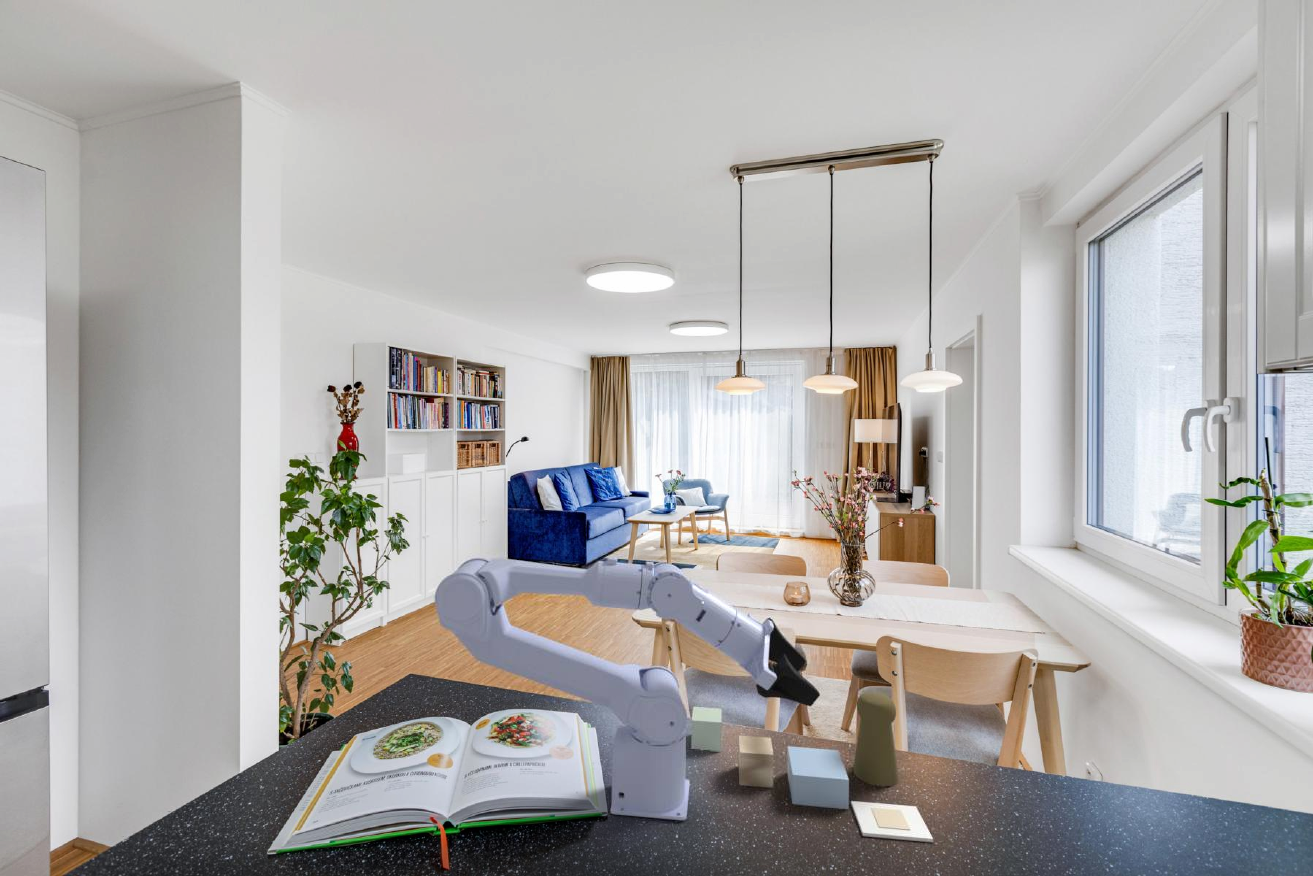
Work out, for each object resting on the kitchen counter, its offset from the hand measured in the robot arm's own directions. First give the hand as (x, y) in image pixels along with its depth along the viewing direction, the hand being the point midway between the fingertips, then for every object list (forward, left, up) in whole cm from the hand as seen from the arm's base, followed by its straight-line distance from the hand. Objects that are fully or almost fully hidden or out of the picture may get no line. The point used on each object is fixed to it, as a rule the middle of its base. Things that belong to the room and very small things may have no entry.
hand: (807, 681), depth 75 cm
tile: (+9, -4, -15) cm, 18 cm away
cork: (+10, +6, -15) cm, 19 cm away
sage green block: (-14, +11, -15) cm, 23 cm away
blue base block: (+1, +1, -15) cm, 15 cm away
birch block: (-7, +3, -15) cm, 17 cm away
